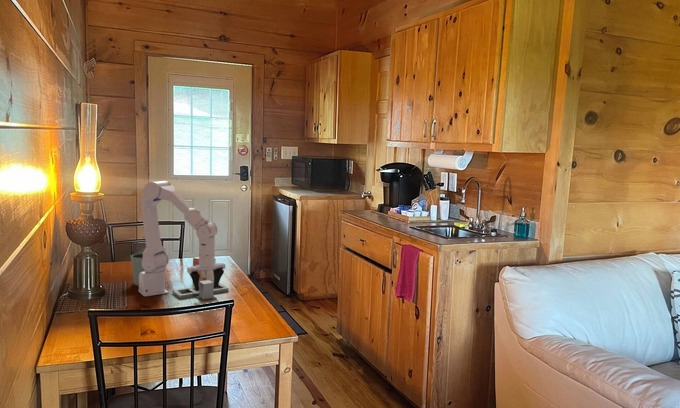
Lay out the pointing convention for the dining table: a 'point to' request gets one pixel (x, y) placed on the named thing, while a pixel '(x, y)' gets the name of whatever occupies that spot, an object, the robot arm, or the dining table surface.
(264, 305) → the dining table surface
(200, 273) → the small box
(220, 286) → the grey slotted plate
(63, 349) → the dining table surface
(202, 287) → the block
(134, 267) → the green bin
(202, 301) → the pad
